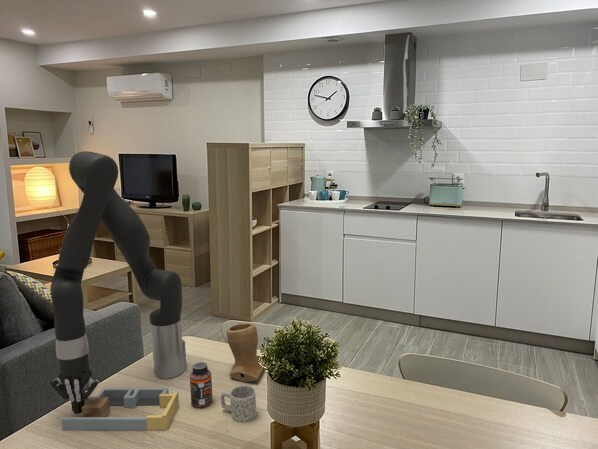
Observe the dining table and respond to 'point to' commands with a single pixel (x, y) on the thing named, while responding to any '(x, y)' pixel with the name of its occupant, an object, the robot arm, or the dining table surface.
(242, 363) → the tan boot vase
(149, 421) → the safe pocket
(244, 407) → the mug
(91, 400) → the walnut block
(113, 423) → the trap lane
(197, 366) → the supplement bottle
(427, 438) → the dining table surface
